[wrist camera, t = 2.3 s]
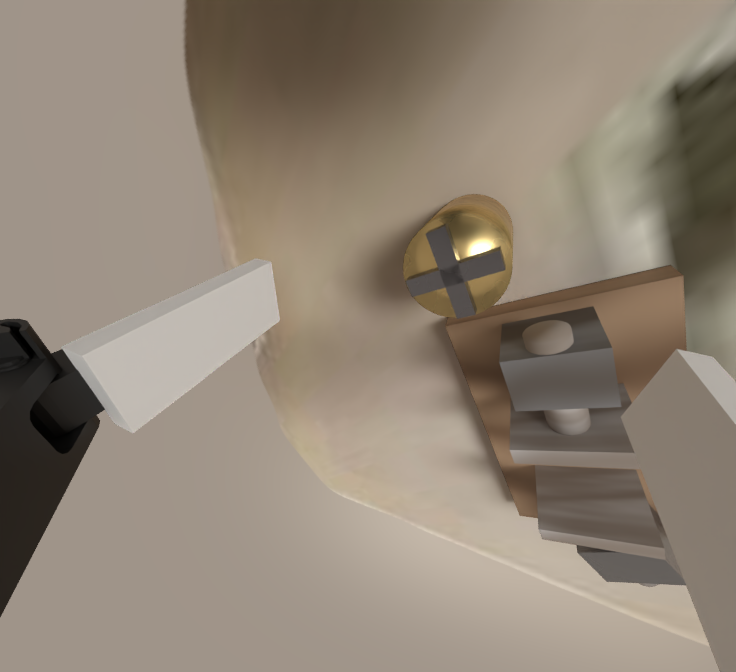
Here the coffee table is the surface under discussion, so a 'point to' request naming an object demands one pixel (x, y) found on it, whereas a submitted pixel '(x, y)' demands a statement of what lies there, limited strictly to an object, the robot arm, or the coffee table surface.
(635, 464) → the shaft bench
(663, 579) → the grey block with shaft
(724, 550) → the robot arm
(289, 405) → the coffee table surface
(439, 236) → the gold rounded cylinder
